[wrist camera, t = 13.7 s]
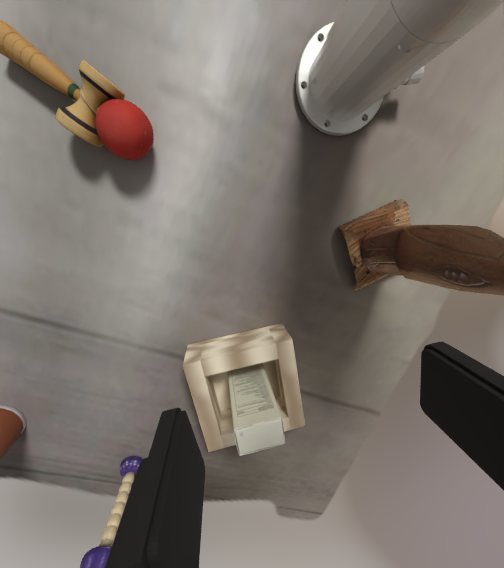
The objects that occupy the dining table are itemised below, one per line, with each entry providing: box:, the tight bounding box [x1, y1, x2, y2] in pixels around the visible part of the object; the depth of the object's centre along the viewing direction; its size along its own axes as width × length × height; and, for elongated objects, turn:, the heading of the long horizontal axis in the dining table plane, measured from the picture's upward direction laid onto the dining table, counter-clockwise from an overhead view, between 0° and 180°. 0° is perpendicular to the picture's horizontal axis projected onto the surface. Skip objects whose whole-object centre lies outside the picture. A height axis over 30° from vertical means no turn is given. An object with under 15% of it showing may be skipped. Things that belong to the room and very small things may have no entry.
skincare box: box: [228, 363, 285, 456], centre depth 35 cm, size 6×4×12 cm
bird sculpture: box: [337, 200, 504, 295], centre depth 23 cm, size 11×12×32 cm
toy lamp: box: [80, 456, 143, 568], centre depth 35 cm, size 5×5×17 cm
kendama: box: [0, 21, 153, 160], centre depth 27 cm, size 8×6×18 cm
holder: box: [183, 323, 305, 452], centre depth 39 cm, size 16×16×6 cm
